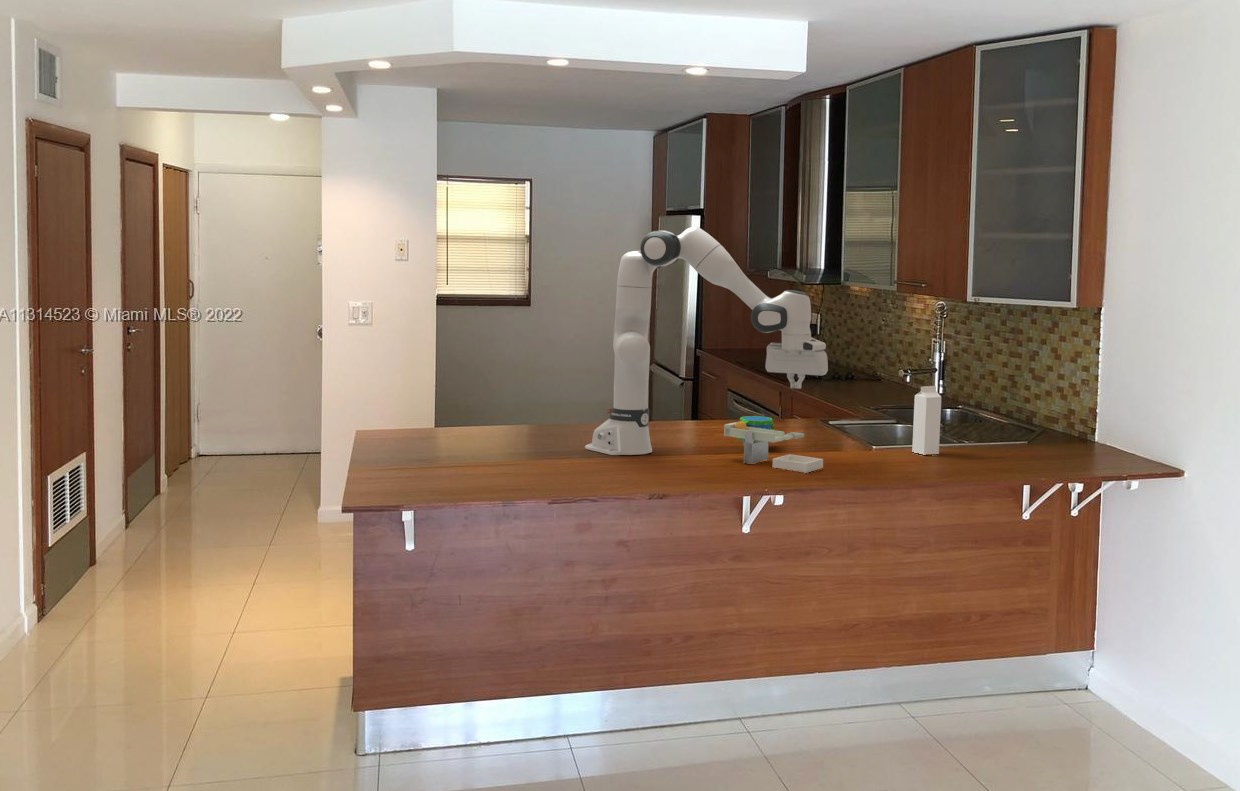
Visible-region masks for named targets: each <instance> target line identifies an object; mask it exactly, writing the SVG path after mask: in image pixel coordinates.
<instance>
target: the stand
mask: <svg viewBox="0 0 1240 791" xmlns="http://www.w3.org/2000/svg"><path fill="white" fill-rule="evenodd" d="M767 459H768V460H769V442H766V441H758V440H754V433H752V432H745V442H744V444H743V464H744V463H750V464H753V463H756V462H760V461H763V460H767Z"/></svg>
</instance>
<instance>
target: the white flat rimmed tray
mask: <svg viewBox="0 0 1240 791" xmlns="http://www.w3.org/2000/svg"><path fill="white" fill-rule="evenodd" d="M773 467H774V468H782V469H787V470H793V471H799V472H804V473H803V474H805V473H807V474H809V473H808V472H811V471H814V470H817V469H820V468H823V469H824V458H820V457H819V458H818V457H813V456H804V455H796V454H792V453H791V454H790V453H789V454H785V455H781V456H778V457H777V456H776V457H775V458H774V457H773V458H772V468H773ZM814 472H815V471H814ZM811 473H812V472H811Z"/></svg>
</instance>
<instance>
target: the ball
mask: <svg viewBox="0 0 1240 791" xmlns="http://www.w3.org/2000/svg"><path fill="white" fill-rule="evenodd" d="M735 429H743V430H746V424H745V423H744V422H742V421H740V420H739V421H737V422H736V424H735Z"/></svg>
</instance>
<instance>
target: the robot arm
mask: <svg viewBox="0 0 1240 791" xmlns="http://www.w3.org/2000/svg"><path fill="white" fill-rule="evenodd" d="M680 259H681V260H682V261H683V260H684V261H685V262H686V263H688V264H689V265H690V266H691V267H692V269H694V271H695V272H697V274H699V275H700V276H701V277H702V278H704V279H705V280H706V281H708V282H710V284H713V285H715V286H719V287H722V288H725V289H728V290H730V292H732V293H734V294H735V295H736V296H737V297H738V298H739V299H741V301H742V302H743V303H744V304H746V306H748V308H750V309H751V313H750V322H751V325H752V326H753V328H754V329H756V331H758V332H760V333H766V334H769V333H773V332H777V331H781V342H773V341H772V342H770V343H769V344H768V345H767V346H766V358H765V370H766V371H767V373H775V374H776V373H778V374H786V378H787V379H788V381H789V383H790V386H789V388H790V389H797V390H799V389H802V386H803V385H802V383H803V381H804V380H805V379H806V375H809V376H825V375H827V373H828V371H829V365H828V364H829V363H828V361H829V360H828V355H827V352H826V351H825V350H826V347H827V345H826V343H825V342H823V341H821V340H818V339H816V338H814V337H812V331H811V328H810V327H811V326H810V325H811V321H812V306H811V299H810V296H809V295H808V294H807V293H806V292H803V291H799V290H792V289H787V290H784V291H783V292H782V293H781V294H779V295H777V296H775V297H770V296H769V295H767V294H766V293H764V292H763V291H762V290H761V289H760V288H759V287H758V286H757V285H756V284H755V282H753V281H752V280H750V279H749V277H747V275H746V274H745V273H744V272H743V271H742V269H741V268H740V266H739V265H738V264H737V263H736V261H735V260H734V258H733V257H732V256H731V254H730V253H729V252H728V251H727V250H726V249H725V247H724V246H723V245H721V243H720V242H718V240H717V239H715V238H714V237H713V236H711V235H710V233H708V232H706V231H705V230H704V229H702V228H700V227H698V226H690V227H688V228H686V229H685V230H684V231H682V232H681V233H680V234H678V235H677V234H675V233H674V232H671V231H668V230H663V229H662V230H661V229H660V230H653V231H650V232H649V233H648V234H646V235H645V236H644V237H643V239H642V240H641V243H640V250H633V251H627V252H626V253H625V254H623V255H622V256H621V259H620V263H619V266H618V272H617V277H616V296H615V297H616V299H615V315H614V316H615V317H614V328H613V343H612V344H613V346H612V348H613V352H614V371H613V407H612V408H609V409H606V411H607V412H606V414H609V416H608V419H607V420H604V422H603V423H601V424H600V425H599V426H598V427H597V428H595V429H594V431H593V434H592V439H591V440H592V441H591V443H588V444H586V445H585V446H584V449H585V450H589V451H593V452H598V453H601V454H605V455H609V456H621V455H622V456H623V455H624V456H625V455H626V456H628V455H629V456H632V455H633V456H634V455H646V454H649V453H650V454H651V453H652V452H653V449H652V444H651V439H650V429H649V422H650V408H649V379H650V377H649V375H650V363H651V362H650V361H651V346H650V343H649V329H650V328H649V327H650V321H651V320H650V318H651V307H652V290H653V289H652V288H653V287H652V286H653V276H654V272H655V270H656V269H659V268H663V267H666V266H670V265H674V264H675V263H677V261H679V260H680ZM795 375H797V378H798V380H797V381H795V378H794V377H795Z"/></svg>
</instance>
